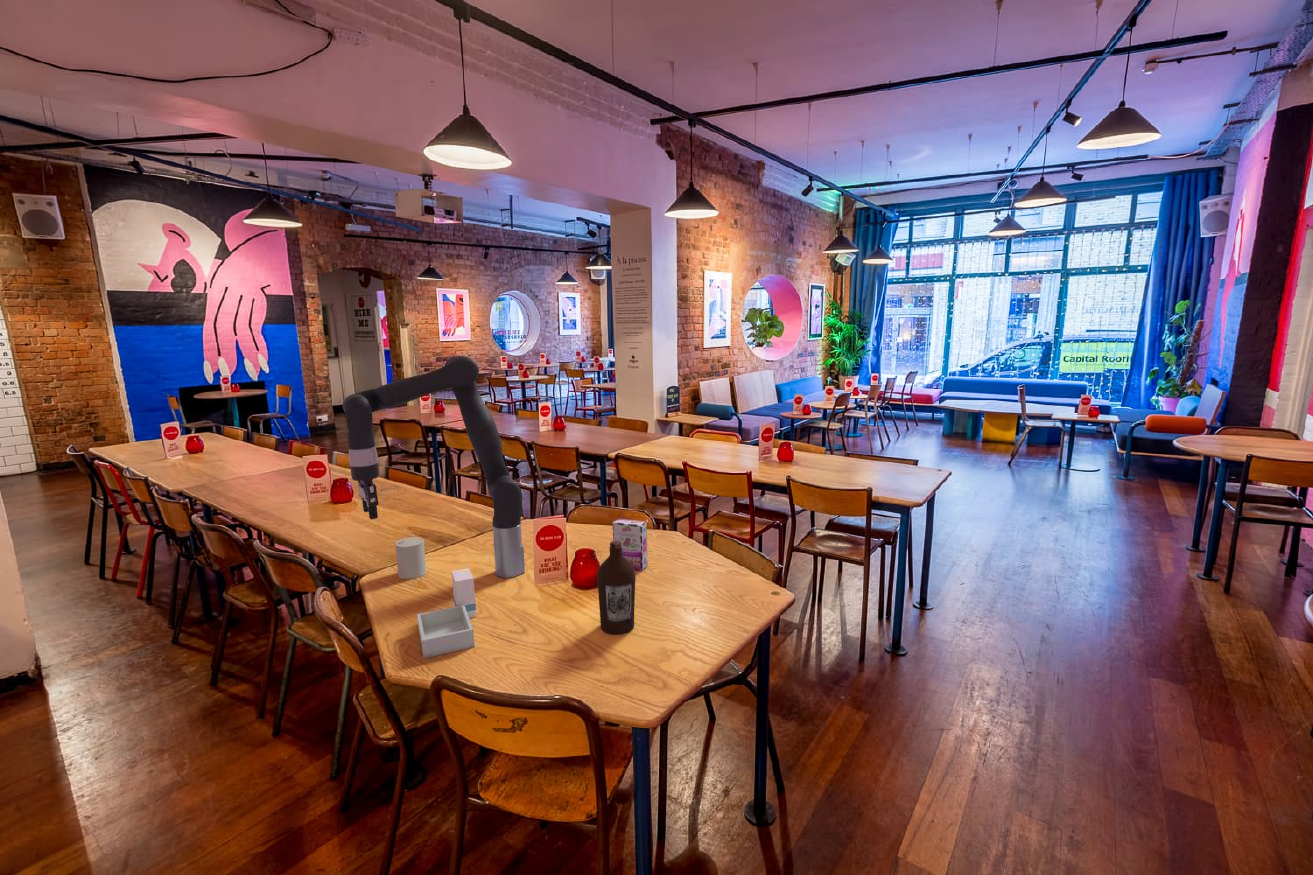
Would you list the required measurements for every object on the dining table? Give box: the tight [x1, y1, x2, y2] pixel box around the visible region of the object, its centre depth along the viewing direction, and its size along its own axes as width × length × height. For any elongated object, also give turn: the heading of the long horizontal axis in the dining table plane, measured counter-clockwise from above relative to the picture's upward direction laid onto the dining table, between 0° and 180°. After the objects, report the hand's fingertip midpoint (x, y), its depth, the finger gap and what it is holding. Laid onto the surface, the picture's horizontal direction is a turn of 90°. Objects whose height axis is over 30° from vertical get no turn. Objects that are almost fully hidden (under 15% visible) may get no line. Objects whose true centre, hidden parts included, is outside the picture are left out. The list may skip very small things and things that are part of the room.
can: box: [394, 536, 428, 580], centre depth 203 cm, size 9×9×12 cm
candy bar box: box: [612, 518, 649, 572], centre depth 207 cm, size 11×5×16 cm, turn 68°
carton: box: [451, 567, 477, 619], centre depth 176 cm, size 5×8×12 cm, turn 26°
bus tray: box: [416, 605, 475, 660], centre depth 162 cm, size 13×16×5 cm
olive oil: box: [596, 540, 637, 636], centre depth 165 cm, size 11×11×25 cm
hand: (370, 515), depth 179 cm, fingers open, 8 cm apart
